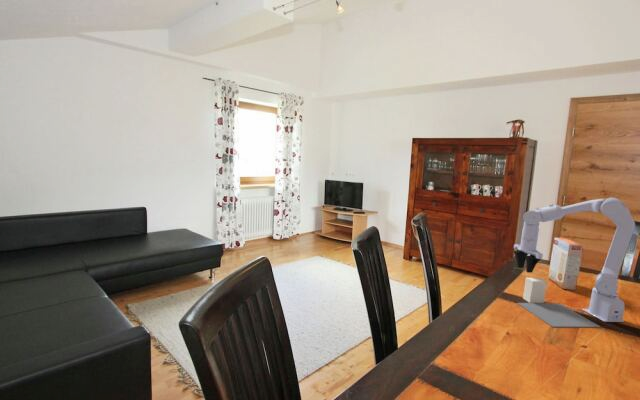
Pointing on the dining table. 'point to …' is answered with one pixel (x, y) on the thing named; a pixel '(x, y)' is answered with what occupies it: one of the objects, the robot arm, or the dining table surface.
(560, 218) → the robot arm
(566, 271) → the cracker box
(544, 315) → the mat
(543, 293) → the marked block
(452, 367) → the dining table surface
